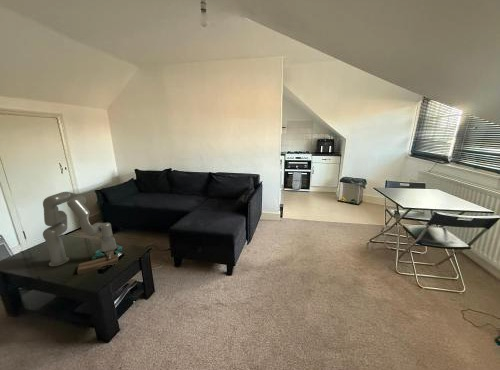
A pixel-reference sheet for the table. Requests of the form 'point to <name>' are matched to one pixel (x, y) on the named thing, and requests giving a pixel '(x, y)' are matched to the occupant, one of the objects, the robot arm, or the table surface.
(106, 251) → the mallet
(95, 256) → the alien figure
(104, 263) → the board
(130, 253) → the table surface
